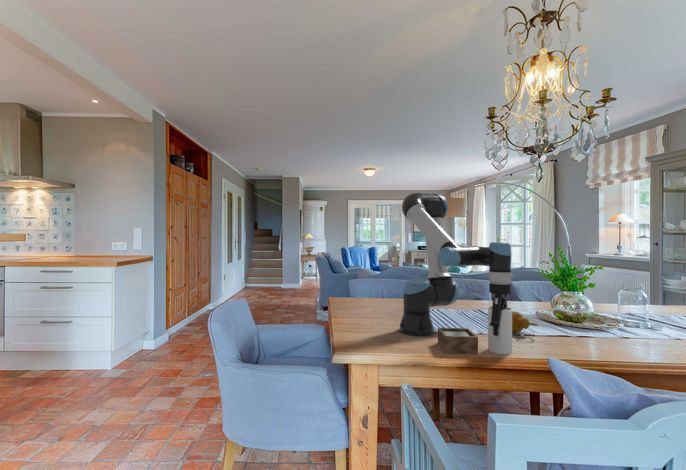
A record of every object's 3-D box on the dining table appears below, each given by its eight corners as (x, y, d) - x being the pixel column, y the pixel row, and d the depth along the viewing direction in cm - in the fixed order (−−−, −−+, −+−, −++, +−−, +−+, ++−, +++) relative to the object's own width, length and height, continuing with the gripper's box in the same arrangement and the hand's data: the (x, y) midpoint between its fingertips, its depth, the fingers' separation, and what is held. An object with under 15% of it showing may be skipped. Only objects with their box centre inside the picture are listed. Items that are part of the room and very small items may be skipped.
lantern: (481, 327, 163) (528, 334, 140) (482, 308, 165) (529, 312, 142) (495, 329, 166) (543, 337, 144) (496, 311, 168) (544, 315, 146)
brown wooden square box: (444, 353, 125) (444, 336, 125) (437, 343, 137) (437, 327, 137) (477, 354, 124) (477, 337, 124) (468, 343, 136) (468, 328, 136)
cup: (514, 355, 123) (514, 311, 123) (490, 353, 125) (490, 309, 125) (508, 347, 131) (508, 306, 131) (486, 346, 133) (486, 305, 133)
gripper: (504, 287, 116) (504, 350, 116) (516, 280, 136) (516, 333, 136) (481, 285, 120) (481, 346, 120) (496, 279, 140) (496, 330, 140)
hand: (499, 339), depth 128 cm, fingers open, 12 cm apart
